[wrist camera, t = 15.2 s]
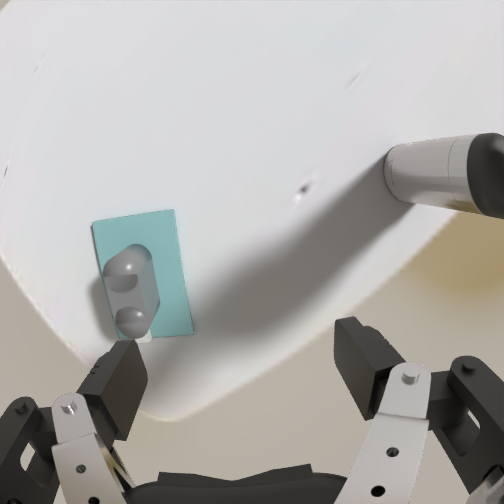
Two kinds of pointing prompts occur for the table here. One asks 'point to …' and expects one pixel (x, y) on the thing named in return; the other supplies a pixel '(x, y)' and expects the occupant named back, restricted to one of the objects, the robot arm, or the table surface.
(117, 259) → the plug block
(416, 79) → the table surface
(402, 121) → the table surface
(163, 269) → the mat
